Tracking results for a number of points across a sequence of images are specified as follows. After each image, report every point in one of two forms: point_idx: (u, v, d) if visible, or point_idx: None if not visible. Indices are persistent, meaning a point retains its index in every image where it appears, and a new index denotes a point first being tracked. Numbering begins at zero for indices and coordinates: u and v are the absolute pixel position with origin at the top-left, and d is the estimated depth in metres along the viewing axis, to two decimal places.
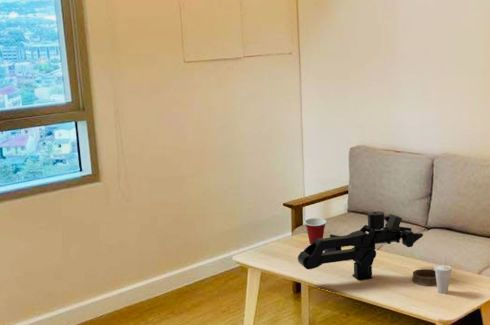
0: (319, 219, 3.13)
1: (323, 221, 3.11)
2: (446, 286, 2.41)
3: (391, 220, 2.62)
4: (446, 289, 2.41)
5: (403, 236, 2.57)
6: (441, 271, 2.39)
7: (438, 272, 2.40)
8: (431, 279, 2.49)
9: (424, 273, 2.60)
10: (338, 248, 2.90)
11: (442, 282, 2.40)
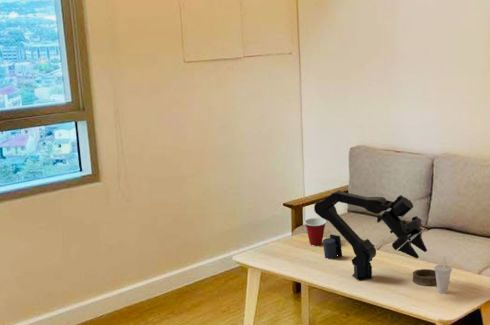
0: (319, 219, 3.13)
1: (323, 221, 3.11)
2: (446, 286, 2.41)
3: (412, 221, 2.46)
4: (446, 289, 2.41)
5: None
6: (441, 271, 2.39)
7: (438, 272, 2.40)
8: (431, 279, 2.49)
9: (424, 273, 2.60)
10: (338, 248, 2.90)
11: (442, 282, 2.40)
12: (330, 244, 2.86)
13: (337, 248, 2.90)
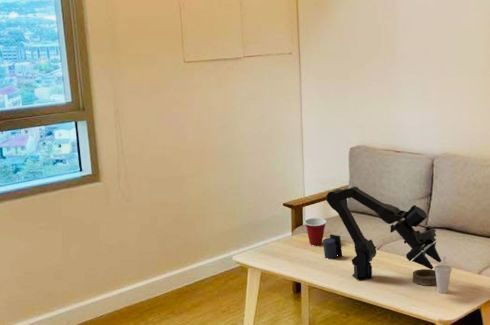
0: (319, 219, 3.13)
1: (323, 221, 3.11)
2: (446, 286, 2.41)
3: (426, 231, 2.43)
4: (446, 289, 2.41)
5: None
6: (441, 271, 2.39)
7: (438, 272, 2.40)
8: (431, 279, 2.49)
9: (424, 273, 2.60)
10: (338, 248, 2.90)
11: (442, 282, 2.40)
12: (330, 244, 2.86)
13: (337, 248, 2.90)
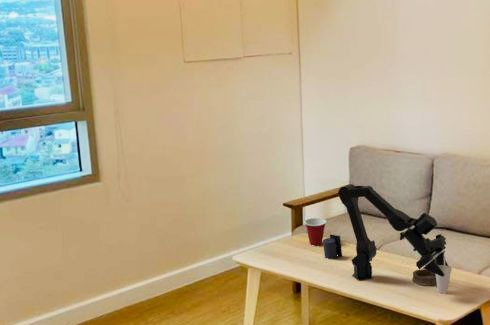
0: (319, 219, 3.13)
1: (323, 221, 3.11)
2: (446, 286, 2.41)
3: (436, 239, 2.41)
4: (446, 289, 2.41)
5: None
6: None
7: None
8: (431, 279, 2.49)
9: (424, 273, 2.60)
10: (338, 248, 2.90)
11: (442, 282, 2.40)
12: (330, 244, 2.86)
13: (337, 248, 2.90)
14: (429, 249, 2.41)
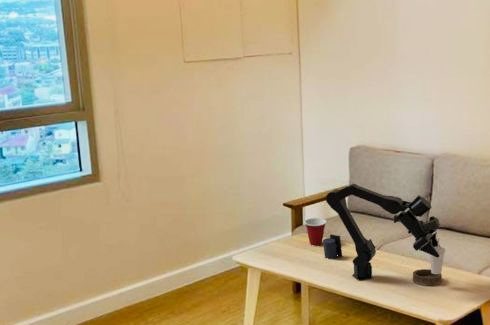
0: (319, 219, 3.13)
1: (323, 221, 3.11)
2: (440, 267, 2.46)
3: (430, 221, 2.45)
4: (440, 270, 2.46)
5: (420, 237, 2.42)
6: None
7: None
8: (431, 279, 2.49)
9: (424, 273, 2.60)
10: (338, 248, 2.90)
11: (437, 263, 2.45)
12: (330, 244, 2.86)
13: (337, 248, 2.90)
14: (424, 231, 2.44)
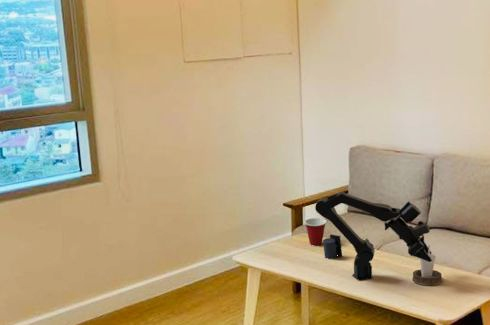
0: (319, 219, 3.13)
1: (323, 221, 3.11)
2: (431, 273, 2.53)
3: (420, 226, 2.52)
4: (431, 276, 2.54)
5: (414, 242, 2.48)
6: None
7: (425, 260, 2.51)
8: (431, 279, 2.49)
9: None
10: (338, 248, 2.90)
11: (428, 269, 2.52)
12: (330, 244, 2.86)
13: (337, 248, 2.90)
14: (416, 236, 2.51)
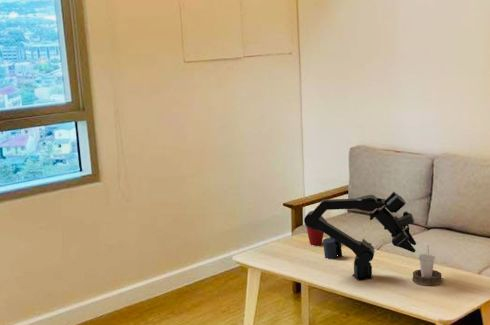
0: None
1: None
2: (431, 273, 2.53)
3: (405, 216, 2.53)
4: (431, 276, 2.54)
5: (398, 233, 2.49)
6: (428, 259, 2.51)
7: (424, 260, 2.51)
8: (431, 279, 2.49)
9: None
10: (338, 248, 2.90)
11: (428, 269, 2.52)
12: (330, 244, 2.86)
13: (337, 248, 2.90)
14: (400, 226, 2.52)
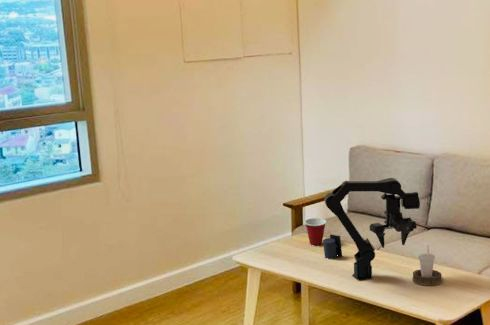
0: (319, 219, 3.13)
1: (323, 221, 3.11)
2: (431, 273, 2.53)
3: (400, 221, 2.52)
4: (431, 276, 2.54)
5: (379, 224, 2.55)
6: (428, 259, 2.51)
7: (424, 260, 2.51)
8: (431, 279, 2.49)
9: None
10: (338, 248, 2.90)
11: (428, 269, 2.52)
12: (330, 244, 2.86)
13: (337, 248, 2.90)
14: (390, 223, 2.55)
